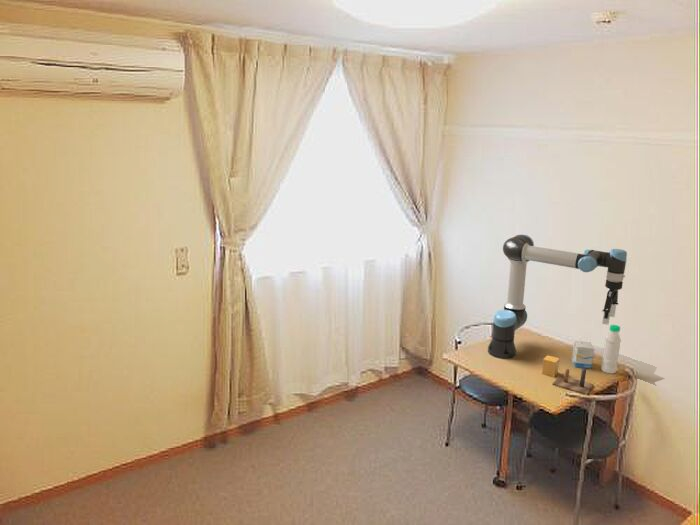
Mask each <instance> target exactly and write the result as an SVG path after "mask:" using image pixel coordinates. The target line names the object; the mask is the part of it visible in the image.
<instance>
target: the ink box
mask: <svg viewBox="0 0 700 525" xmlns="http://www.w3.org/2000/svg"><path fill="white" fill-rule="evenodd" d="M594 353H595V348H594V346H593V344H592V342H591V341H581V340H574V341H573V348H572V355H571V362H572V364H573V367H575V368H578V369H579V368H581V369H583V368H584V369H589V370H590V369H592V367H593V359H594Z"/></svg>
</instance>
